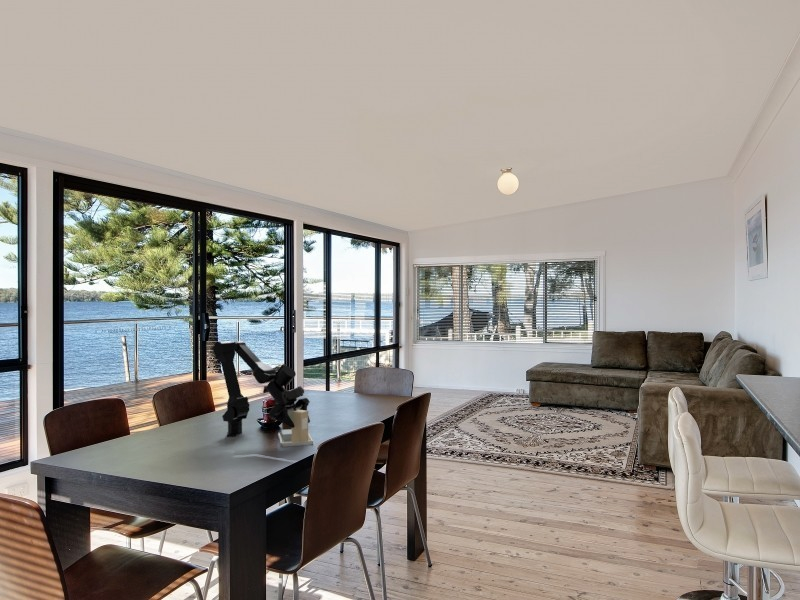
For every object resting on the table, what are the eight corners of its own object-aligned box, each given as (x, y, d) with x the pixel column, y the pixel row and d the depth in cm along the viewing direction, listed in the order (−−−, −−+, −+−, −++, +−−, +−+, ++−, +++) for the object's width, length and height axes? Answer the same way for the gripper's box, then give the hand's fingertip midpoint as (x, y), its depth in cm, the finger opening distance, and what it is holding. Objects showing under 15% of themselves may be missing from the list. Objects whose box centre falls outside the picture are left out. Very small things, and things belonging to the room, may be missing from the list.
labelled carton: (291, 442, 219) (291, 411, 219) (299, 440, 223) (299, 409, 223) (301, 444, 216) (301, 412, 217) (308, 441, 220) (308, 410, 220)
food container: (295, 434, 236) (294, 410, 237) (281, 433, 238) (281, 409, 238) (305, 427, 249) (305, 404, 249) (292, 427, 250) (292, 404, 250)
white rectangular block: (281, 436, 230) (281, 430, 230) (292, 435, 231) (292, 429, 231) (282, 440, 222) (282, 434, 222) (294, 440, 223) (294, 433, 223)
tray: (278, 437, 231) (278, 432, 231) (308, 435, 234) (308, 430, 234) (280, 448, 213) (280, 443, 213) (313, 446, 216) (313, 441, 216)
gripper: (274, 383, 214) (297, 415, 208) (305, 377, 230) (328, 407, 225) (258, 402, 217) (281, 434, 212) (290, 395, 234) (312, 425, 228)
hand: (301, 424), depth 219 cm, fingers open, 9 cm apart
